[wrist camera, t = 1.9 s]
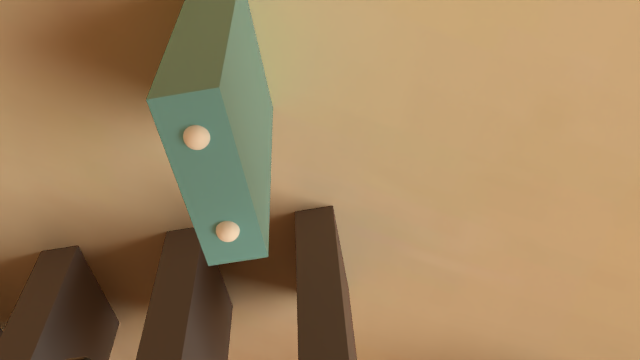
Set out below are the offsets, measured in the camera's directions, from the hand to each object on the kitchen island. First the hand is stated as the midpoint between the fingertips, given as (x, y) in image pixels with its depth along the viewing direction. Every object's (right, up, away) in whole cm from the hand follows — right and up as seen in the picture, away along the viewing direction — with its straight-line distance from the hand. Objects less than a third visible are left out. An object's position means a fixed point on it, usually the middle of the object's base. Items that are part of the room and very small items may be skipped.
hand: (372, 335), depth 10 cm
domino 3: (-6, -2, +17) cm, 18 cm away
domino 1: (-11, -2, +18) cm, 21 cm away
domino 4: (-1, -1, +17) cm, 17 cm away
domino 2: (-4, +7, +11) cm, 14 cm away
